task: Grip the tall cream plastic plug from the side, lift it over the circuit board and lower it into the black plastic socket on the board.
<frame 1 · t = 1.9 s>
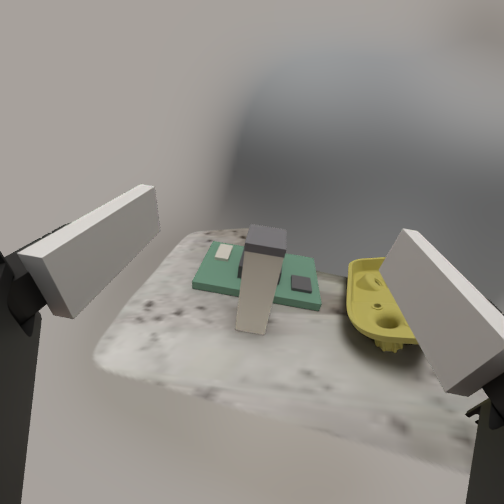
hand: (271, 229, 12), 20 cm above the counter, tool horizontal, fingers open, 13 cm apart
board: (258, 274, 40), on the counter
plastic component: (375, 314, 36), on the counter
plug: (251, 320, 31), on the counter
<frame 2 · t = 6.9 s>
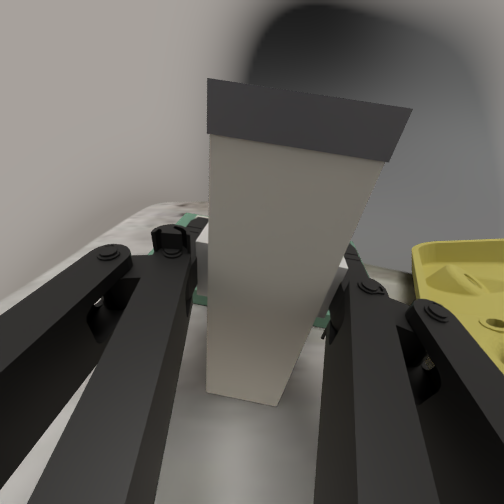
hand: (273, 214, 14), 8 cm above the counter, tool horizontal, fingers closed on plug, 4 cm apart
board: (261, 267, 22), on the counter
plastic component: (470, 339, 19), on the counter
plug: (246, 364, 14), on the counter, touching gripper
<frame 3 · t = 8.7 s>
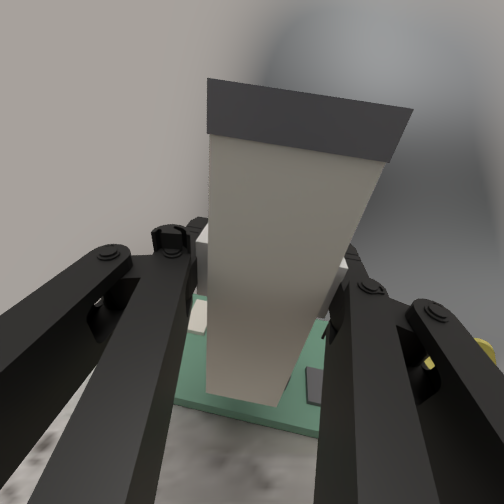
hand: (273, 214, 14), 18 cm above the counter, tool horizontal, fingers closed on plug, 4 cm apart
board: (253, 357, 25), on the counter
plug: (246, 365, 14), point 10 cm above the counter, touching gripper
when the fingers open (11 cm above the counter, at t = 11.5 s): plug drops 1 cm, resting on board.
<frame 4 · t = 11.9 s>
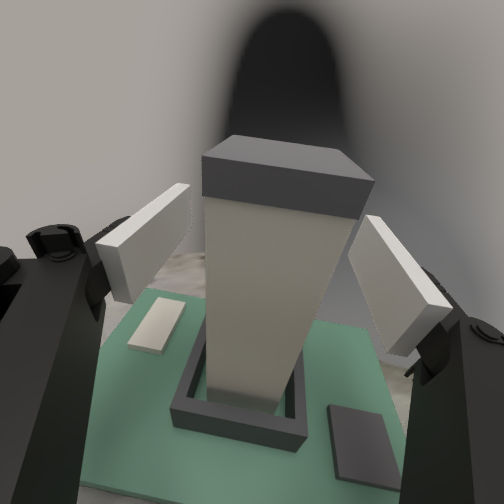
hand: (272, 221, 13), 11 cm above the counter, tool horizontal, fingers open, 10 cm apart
board: (241, 386, 16), on the counter
plug: (244, 376, 15), point 2 cm above the counter, touching board
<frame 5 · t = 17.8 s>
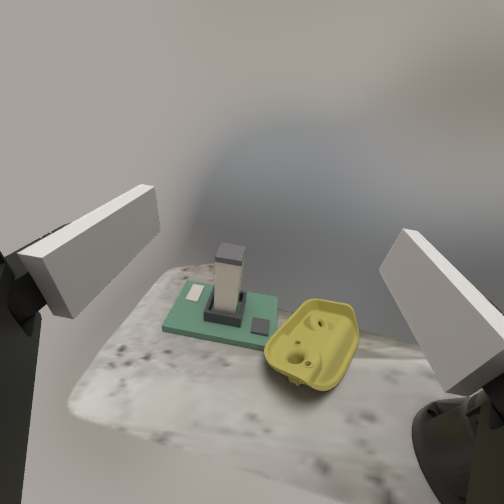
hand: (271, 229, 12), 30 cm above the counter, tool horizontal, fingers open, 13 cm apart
board: (225, 315, 44), on the counter
plastic component: (308, 350, 40), on the counter
plug: (226, 310, 43), point 1 cm above the counter, touching board
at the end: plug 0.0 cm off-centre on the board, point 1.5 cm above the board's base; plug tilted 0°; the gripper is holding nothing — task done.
